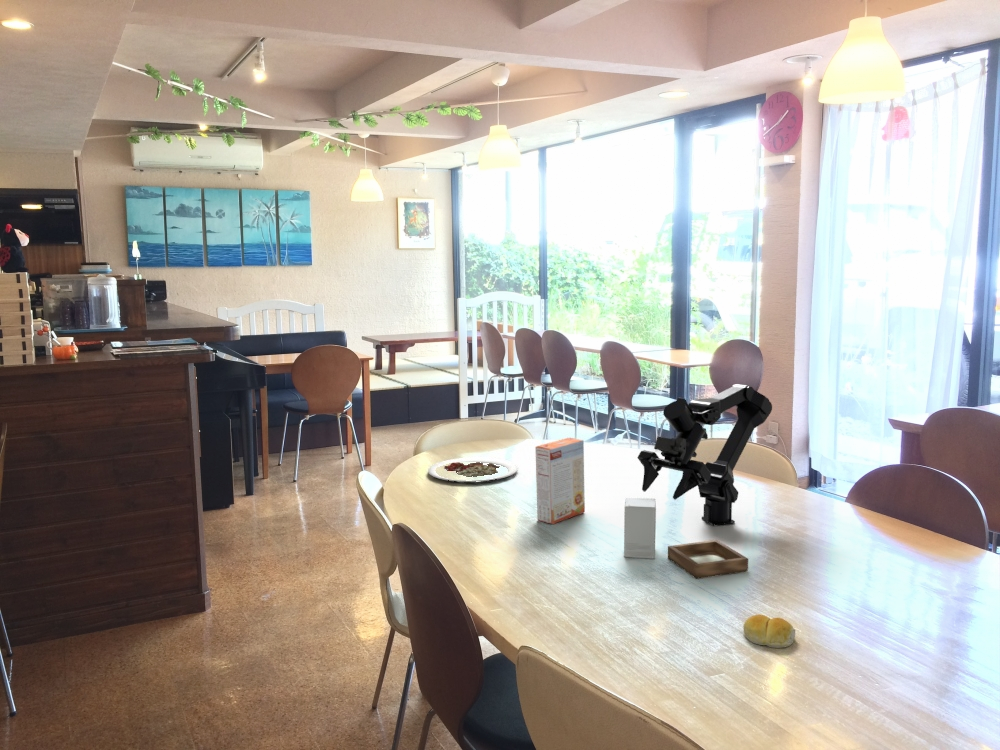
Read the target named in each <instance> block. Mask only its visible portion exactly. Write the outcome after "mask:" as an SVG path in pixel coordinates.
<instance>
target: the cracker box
mask: <svg viewBox="0 0 1000 750" xmlns="http://www.w3.org/2000/svg"><path fill="white" fill-rule="evenodd" d="M584 446H585V445H584V440H583V439H577V438H574V437H567V438H562V439H558V440H555V441H552V442H547V443H544V444H540V445H537V446H535V474H536V476H535V478H536V483H535V484H536V509H537V510H536V511H537V521H539V522H543V523H547V524H550V525H555V524H557V523H561V522H562V521H565V520H567V519H571V518H573V517H576V516H579V515H581V514H583V513H586V512H585V511H586V510H585V508H586V507H585V504H586V503H585V458H584V457H585V456H584V455H585V454H584V453H585V452H584V451H585V449H584Z"/></svg>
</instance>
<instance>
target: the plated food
mask: <svg viewBox="0 0 1000 750" xmlns="http://www.w3.org/2000/svg"><path fill="white" fill-rule="evenodd" d="M460 462H476V463H470V464H468V465H464V464H463V463H460ZM480 462H481V463H480ZM449 463H451V464H450V465H448V466H444V469H446V470H447V471H456V473H457V472H458V473H457V474H458V475H463V476H466V477H472V476H473V477H477V476H484V475H492V474H495V473H498V471H497V470H496V468H499V467H500V466H496V465H501V466H503V467H506V468H507V469H508V473H507V474H505V475H503V476H500V477H497V478H493V479H486V480H472V481H466V480H453V479H448V478H444V477H441V476H439V475H438V474H437V473H436V471H435V470H436V468H437V467H440V466H443V465H446V464H449ZM483 463H489V464H487V465H488V466H487V465H483ZM494 464H496V465H494ZM518 471H519V467H518V465H517V464H516V463H515V462H513V461H510V460H507V459H501V458H496V457H494V458H493V457H481V456H480V457H460V458H451V459H447V460H443V461H442V460H441V461H439V462H437V463H434V464H432V465H430V466H429V468H428V471H427V473H428V474H429V475H430V476H431V477H434V478H437V479H439V480H444V481H448V480H449V482H454V481H460V482H459V483H464V482H475V483H477V482H476V481H487V482H490V481H489V480H493V481H496V480H495V479H497V480H500V479H503V478H504V479H505V478H507V477H510V476H512V475H514V474H516V473H517V472H518Z"/></svg>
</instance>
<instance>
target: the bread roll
mask: <svg viewBox="0 0 1000 750" xmlns="http://www.w3.org/2000/svg"><path fill="white" fill-rule="evenodd" d="M742 628H743V634H744V636H745V638H747V640H748V641H750V642H752V643H753V644H756V645H760V646H765V645H766V646H767V647H769V648H773V649H774V648H775V649H782V648H788V647H790V646H791V645H792V644H793V643H794V641H795V638H796V629H795V628H794V627H793V625H792V624H791V623H790V622H789V621H788V620H786V619H784V618H782V617H772V618H770V617H768V616H767V615H764V614H756V615H751V616H750V617H748V618H747V619H746V620H745V621H744V623H743V627H742Z"/></svg>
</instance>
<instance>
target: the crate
mask: <svg viewBox="0 0 1000 750" xmlns="http://www.w3.org/2000/svg"><path fill="white" fill-rule="evenodd" d="M667 559H668V560H669V561H671V562H672V563H673V564H674V565H677V566H678V567H679V568H680V569H682V570H683V571H685V572H686V573H688V574H689V575H691V577H693V578H695V579H705V578H711V577H718V576H719V577H720V576H726V575H732V574H739V573H746V572H748V571H749V557H746V556H745V555H743V554H742V553H740V552H738V551H737V550H735V549H733V548H732V547H730V546H729V545H726V544H725V543H723V542H721V541H720V540H718V539H712V540H704V541H697V542H691V543H683V544H682V543H681V544H674V545H668V546H667Z"/></svg>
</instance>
